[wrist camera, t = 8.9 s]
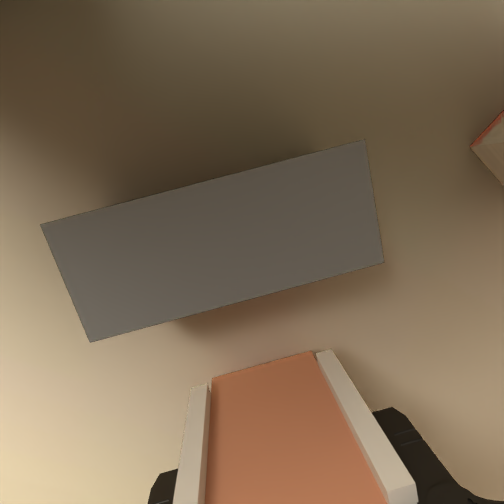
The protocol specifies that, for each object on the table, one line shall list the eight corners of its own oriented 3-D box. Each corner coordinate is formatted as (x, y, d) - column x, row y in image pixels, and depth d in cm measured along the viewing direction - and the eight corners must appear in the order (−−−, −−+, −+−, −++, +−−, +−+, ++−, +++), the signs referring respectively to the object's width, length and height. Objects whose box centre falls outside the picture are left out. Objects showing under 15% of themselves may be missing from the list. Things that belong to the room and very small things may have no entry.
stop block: (102, 208, 14) (39, 224, 9) (317, 151, 15) (364, 139, 10) (132, 290, 15) (89, 342, 10) (334, 235, 15) (384, 262, 11)
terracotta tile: (212, 378, 16) (185, 815, 5) (311, 350, 16) (495, 720, 5) (220, 405, 16) (215, 865, 5) (317, 378, 16) (501, 775, 5)
